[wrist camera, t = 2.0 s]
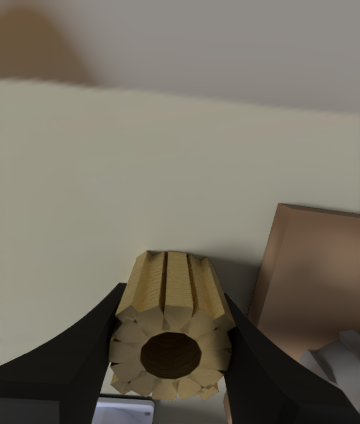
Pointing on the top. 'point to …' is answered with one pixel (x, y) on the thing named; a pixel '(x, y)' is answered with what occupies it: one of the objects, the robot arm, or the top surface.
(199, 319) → the wooden gear
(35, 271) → the top surface
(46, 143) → the top surface
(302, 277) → the gear board
